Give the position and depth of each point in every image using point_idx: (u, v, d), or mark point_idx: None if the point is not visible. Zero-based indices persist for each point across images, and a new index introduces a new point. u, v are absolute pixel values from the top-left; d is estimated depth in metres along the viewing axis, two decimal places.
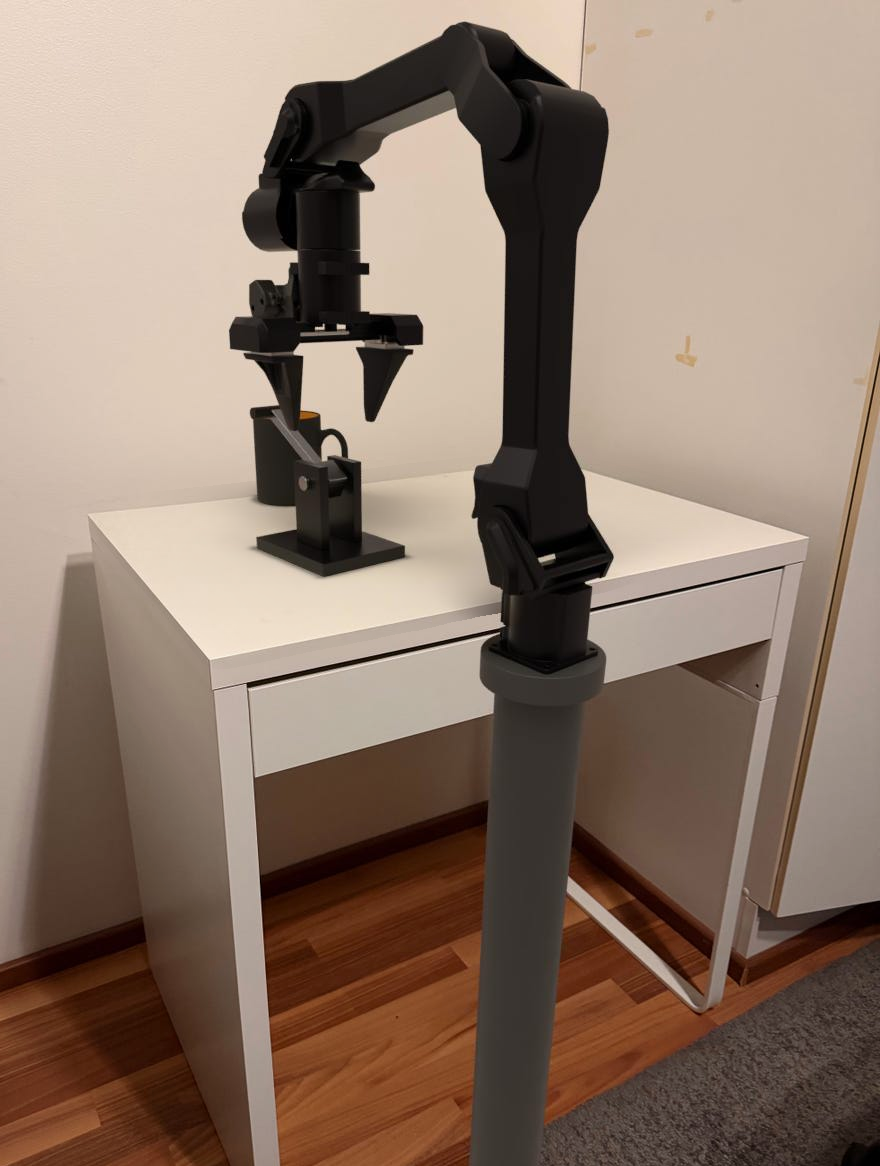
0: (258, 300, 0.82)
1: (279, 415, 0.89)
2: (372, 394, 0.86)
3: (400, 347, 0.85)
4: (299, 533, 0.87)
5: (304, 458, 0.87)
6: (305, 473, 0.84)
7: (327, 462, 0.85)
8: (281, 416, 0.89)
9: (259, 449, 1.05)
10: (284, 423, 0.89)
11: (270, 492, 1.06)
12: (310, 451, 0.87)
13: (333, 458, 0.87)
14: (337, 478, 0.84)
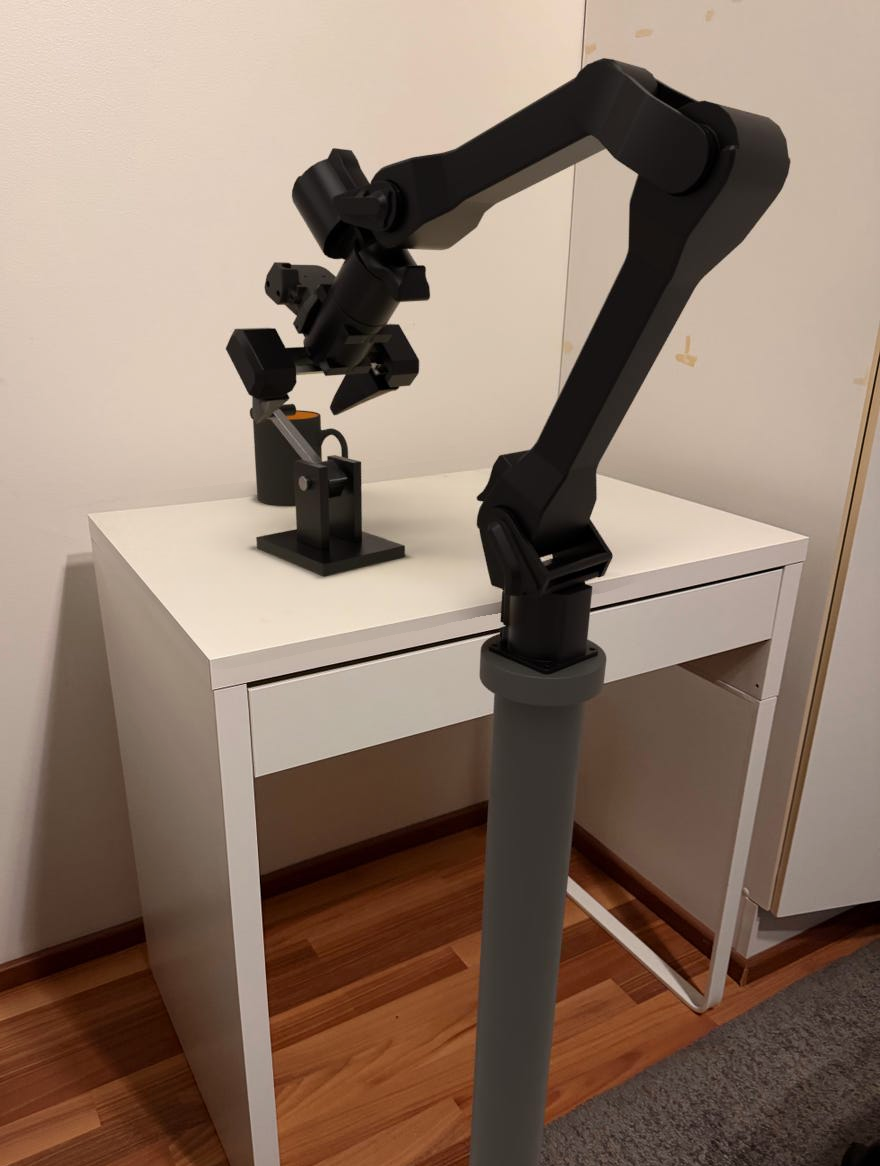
0: (275, 287, 0.77)
1: (279, 415, 0.89)
2: (345, 398, 0.88)
3: None
4: (299, 533, 0.87)
5: (304, 458, 0.87)
6: (305, 473, 0.84)
7: (327, 462, 0.85)
8: (281, 416, 0.89)
9: (259, 449, 1.05)
10: (284, 423, 0.89)
11: (270, 492, 1.06)
12: (310, 451, 0.87)
13: (333, 458, 0.87)
14: (337, 478, 0.84)
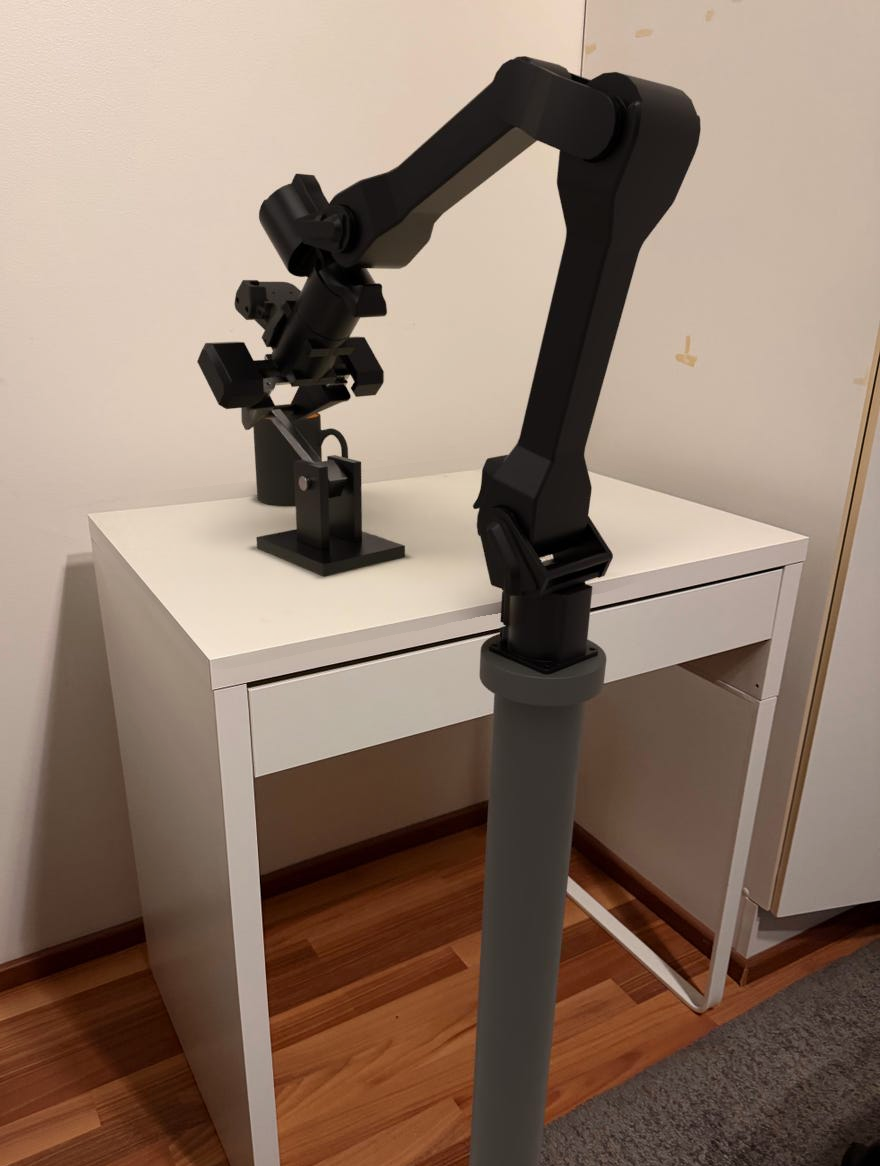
0: (244, 304, 0.82)
1: (279, 415, 0.89)
2: (299, 408, 0.91)
3: (341, 387, 0.89)
4: (299, 533, 0.87)
5: (304, 458, 0.87)
6: (305, 473, 0.84)
7: (327, 462, 0.85)
8: (281, 416, 0.89)
9: (259, 449, 1.05)
10: (284, 423, 0.89)
11: (270, 492, 1.06)
12: (310, 451, 0.87)
13: (333, 458, 0.87)
14: (337, 478, 0.84)
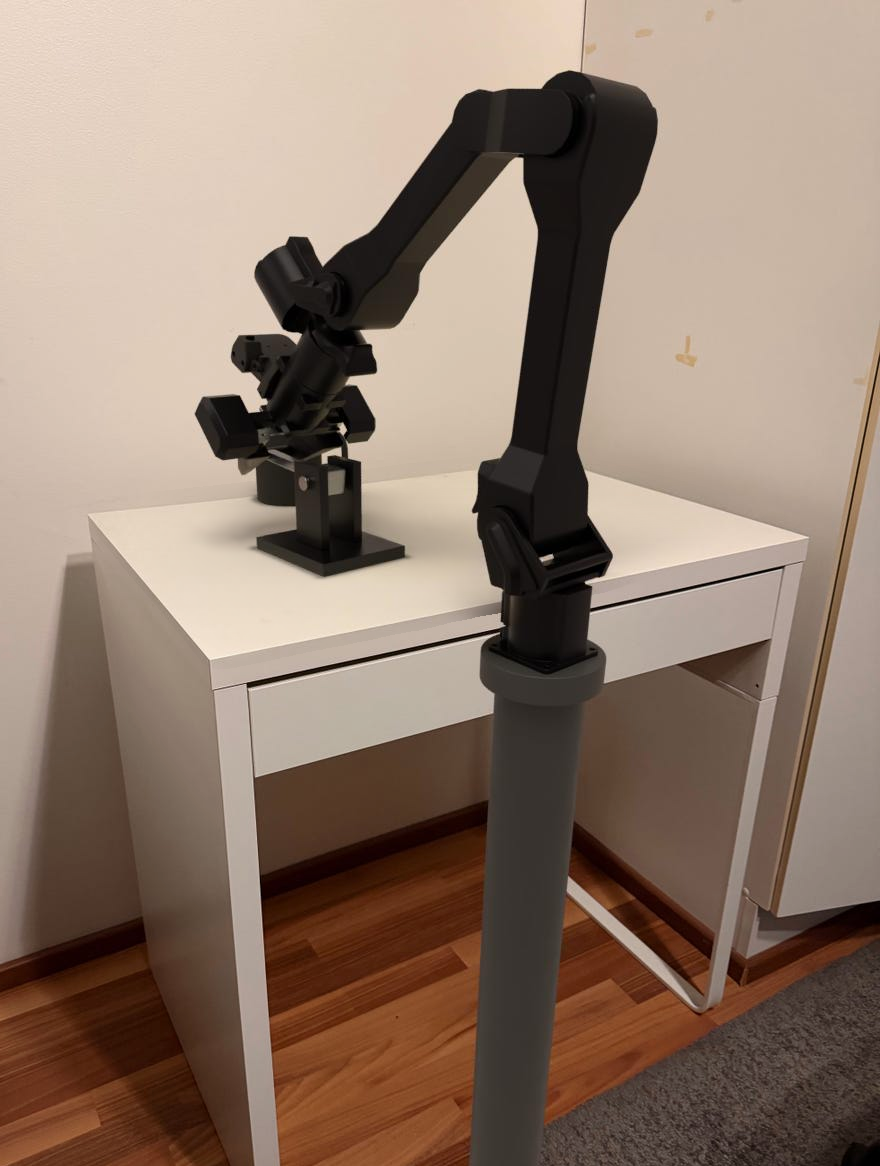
0: (240, 357, 0.85)
1: (274, 451, 0.92)
2: (293, 454, 0.94)
3: (334, 434, 0.92)
4: (299, 533, 0.87)
5: None
6: (305, 473, 0.84)
7: (323, 464, 0.86)
8: (275, 452, 0.92)
9: None
10: (279, 455, 0.91)
11: (270, 492, 1.06)
12: None
13: (333, 458, 0.87)
14: (335, 470, 0.84)
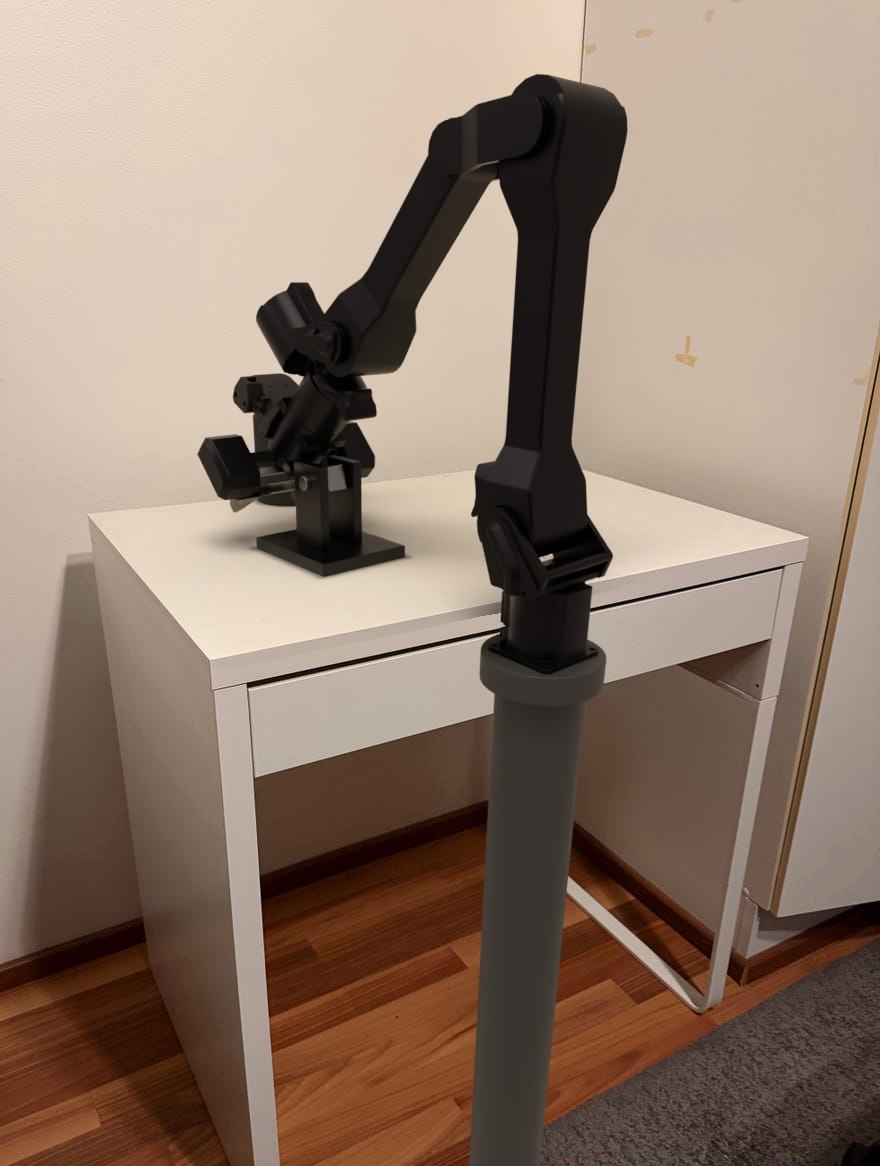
0: (242, 398, 0.86)
1: None
2: None
3: None
4: (299, 533, 0.87)
5: None
6: (305, 473, 0.84)
7: None
8: None
9: (259, 449, 1.05)
10: None
11: None
12: None
13: (333, 458, 0.87)
14: None
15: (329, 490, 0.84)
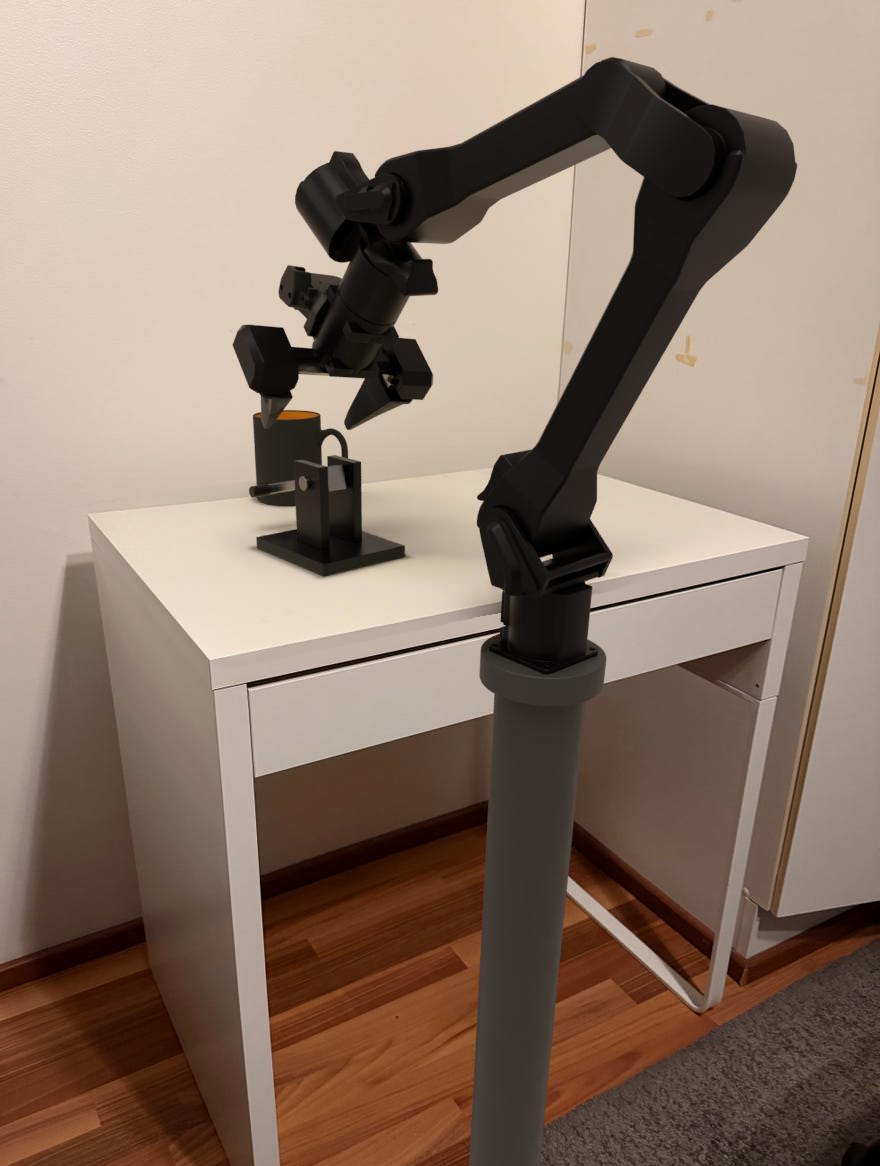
0: (287, 290, 0.78)
1: None
2: (358, 411, 0.87)
3: None
4: (299, 533, 0.87)
5: None
6: (305, 473, 0.84)
7: None
8: None
9: (259, 449, 1.05)
10: None
11: None
12: None
13: (333, 458, 0.87)
14: None
15: (329, 490, 0.84)
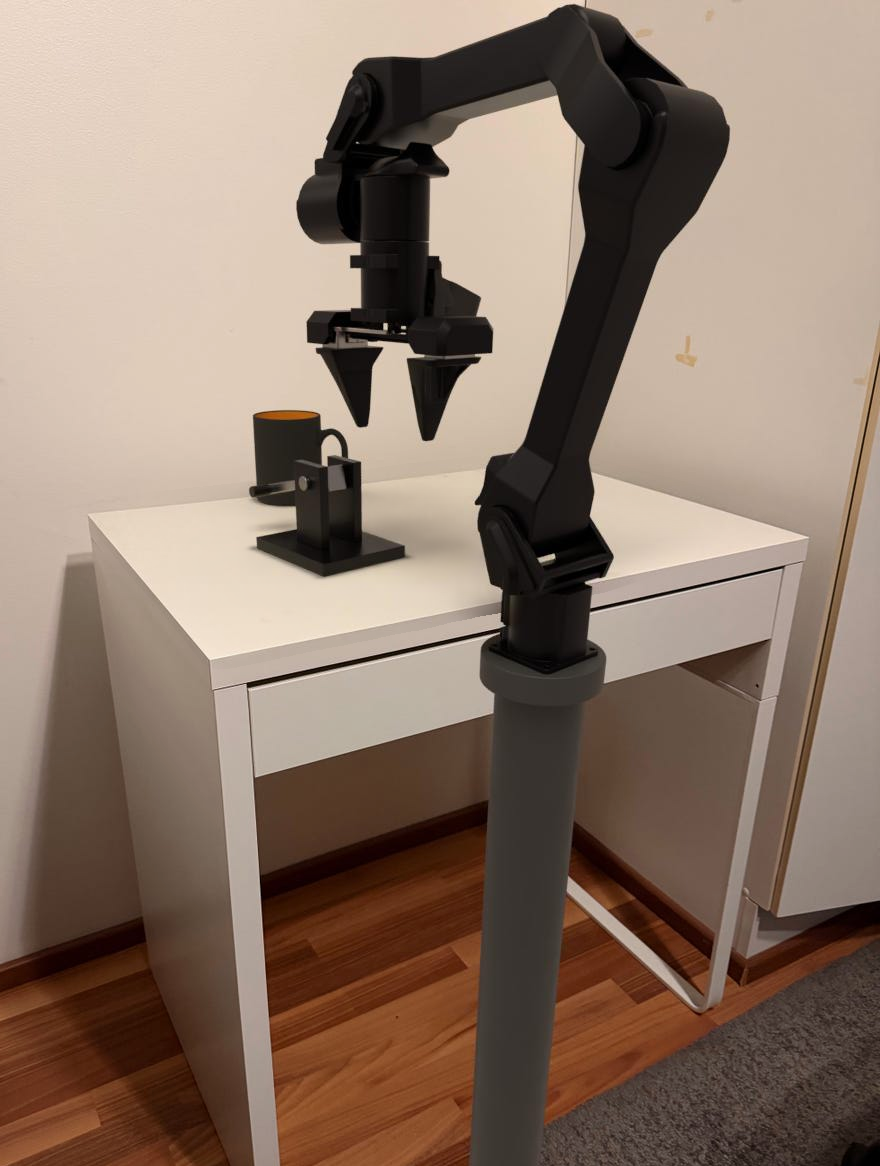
0: None
1: None
2: None
3: (438, 357, 0.69)
4: (299, 533, 0.87)
5: None
6: (305, 473, 0.84)
7: None
8: None
9: (259, 449, 1.05)
10: None
11: None
12: None
13: (333, 458, 0.87)
14: None
15: (329, 490, 0.84)
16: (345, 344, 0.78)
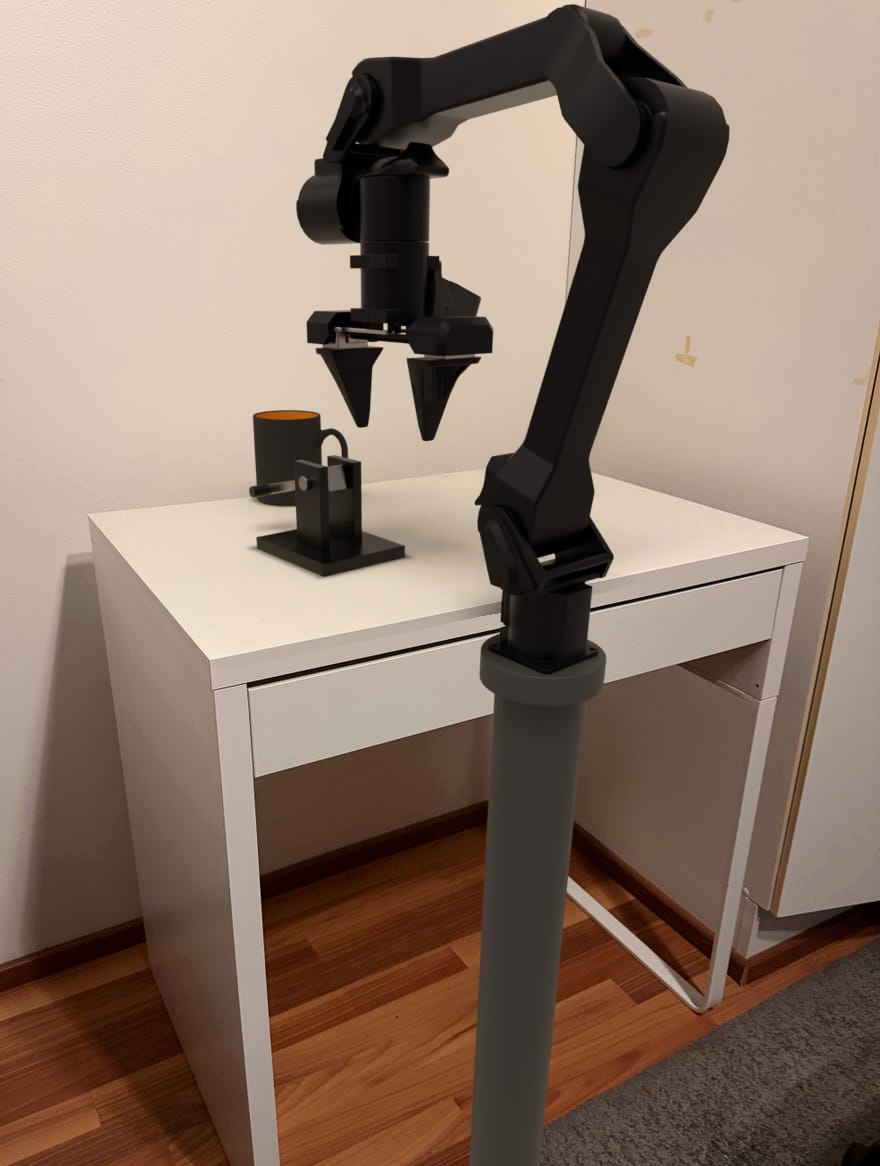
0: None
1: None
2: None
3: (438, 357, 0.69)
4: (299, 533, 0.87)
5: None
6: (305, 473, 0.84)
7: None
8: None
9: (259, 449, 1.05)
10: None
11: None
12: None
13: (333, 458, 0.87)
14: None
15: (329, 490, 0.84)
16: (345, 344, 0.78)
